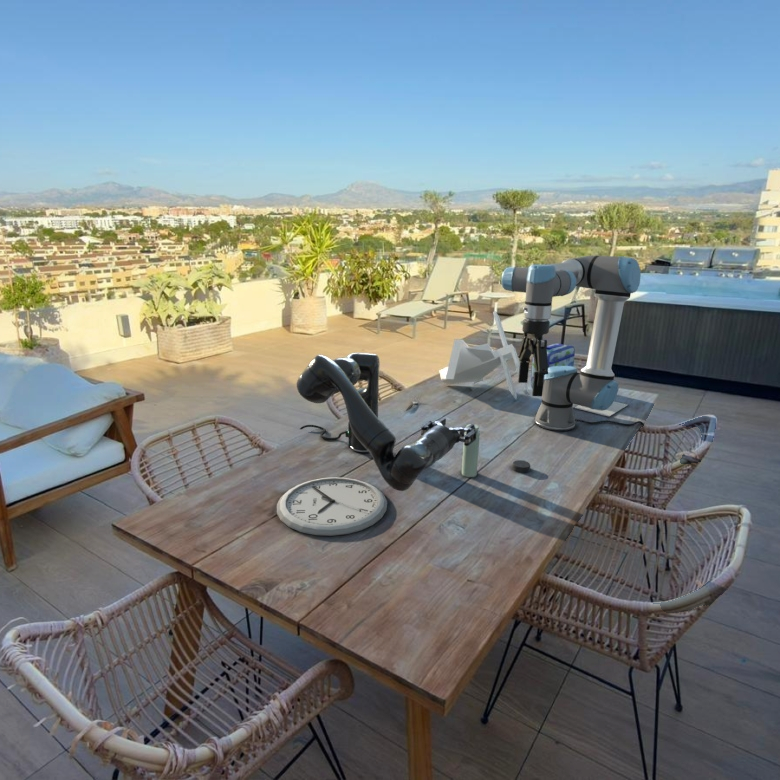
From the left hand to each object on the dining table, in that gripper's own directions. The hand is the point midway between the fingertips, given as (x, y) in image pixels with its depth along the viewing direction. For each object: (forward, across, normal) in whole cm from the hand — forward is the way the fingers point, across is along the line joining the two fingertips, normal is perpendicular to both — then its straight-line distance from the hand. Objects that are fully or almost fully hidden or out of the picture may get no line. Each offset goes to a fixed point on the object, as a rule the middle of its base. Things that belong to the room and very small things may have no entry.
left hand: (458, 424), depth 147 cm
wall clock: (-26, -25, -20) cm, 42 cm away
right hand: (+24, +13, +6) cm, 28 cm away
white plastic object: (+93, -26, -21) cm, 99 cm away
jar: (+11, 0, -20) cm, 23 cm away
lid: (+23, +13, -19) cm, 33 cm away
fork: (+59, -44, -21) cm, 76 cm away
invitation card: (+102, +26, -21) cm, 107 cm away
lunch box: (+119, +1, -21) cm, 120 cm away
